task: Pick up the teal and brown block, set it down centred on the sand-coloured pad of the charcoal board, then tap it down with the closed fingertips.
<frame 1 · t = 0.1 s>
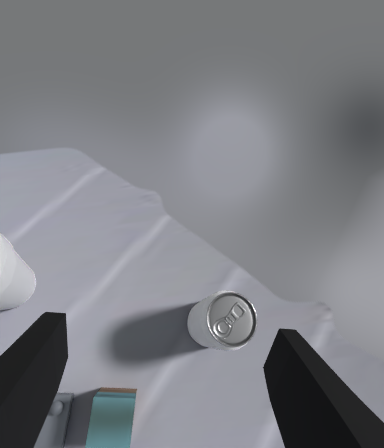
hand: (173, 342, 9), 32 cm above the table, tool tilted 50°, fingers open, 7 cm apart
grey cylinder: (208, 323, 41), on the table
teal and brown block: (116, 408, 35), on the table
foam cup: (11, 286, 38), on the table
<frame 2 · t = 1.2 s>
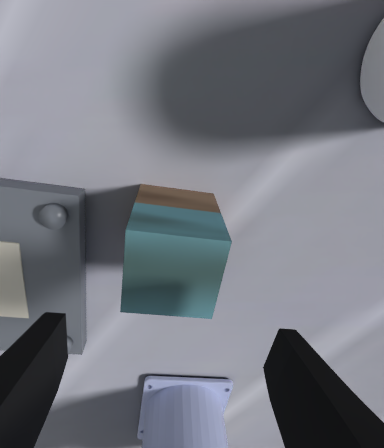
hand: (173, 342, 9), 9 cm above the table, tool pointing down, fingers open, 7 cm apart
teal and brown block: (173, 221, 18), on the table
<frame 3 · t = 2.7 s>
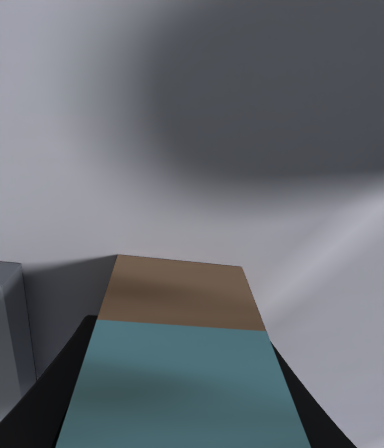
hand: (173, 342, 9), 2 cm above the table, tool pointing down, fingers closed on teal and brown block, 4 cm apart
teal and brown block: (173, 308, 11), on the table, touching gripper
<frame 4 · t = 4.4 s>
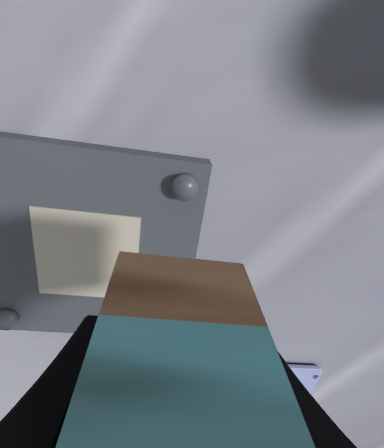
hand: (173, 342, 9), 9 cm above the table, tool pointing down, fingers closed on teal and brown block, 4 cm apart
plate: (92, 246, 18), on the table
teal and brown block: (174, 305, 11), point 7 cm above the table, touching gripper
when the fingers open (4 cm above the table, at t = 6.1 s): teal and brown block drops 1 cm, resting on plate.
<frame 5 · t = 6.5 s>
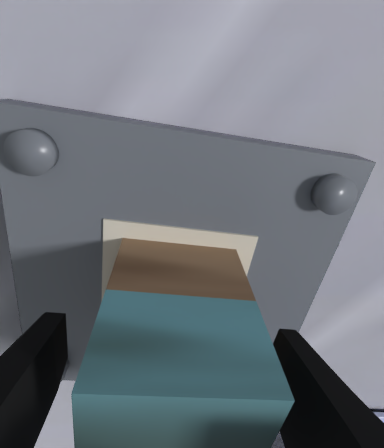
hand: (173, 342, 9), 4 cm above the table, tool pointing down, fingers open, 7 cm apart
plate: (173, 271, 13), on the table
teal and brown block: (173, 288, 12), point 1 cm above the table, touching plate
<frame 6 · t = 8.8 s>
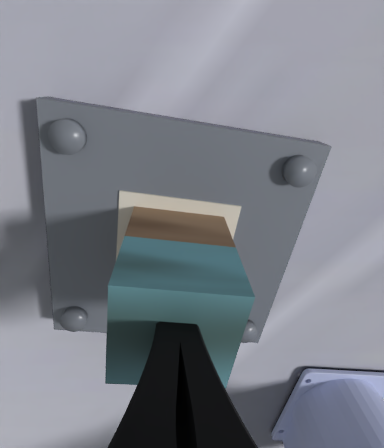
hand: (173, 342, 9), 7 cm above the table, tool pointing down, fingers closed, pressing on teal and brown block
plate: (174, 239, 16), on the table
teal and brown block: (174, 249, 15), point 1 cm above the table, touching gripper, plate
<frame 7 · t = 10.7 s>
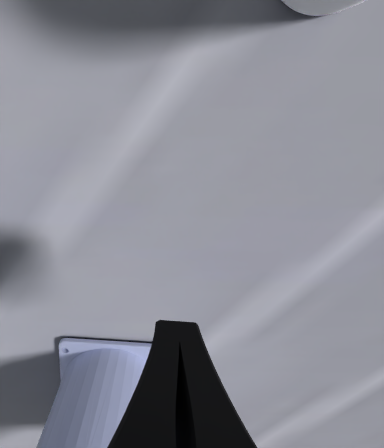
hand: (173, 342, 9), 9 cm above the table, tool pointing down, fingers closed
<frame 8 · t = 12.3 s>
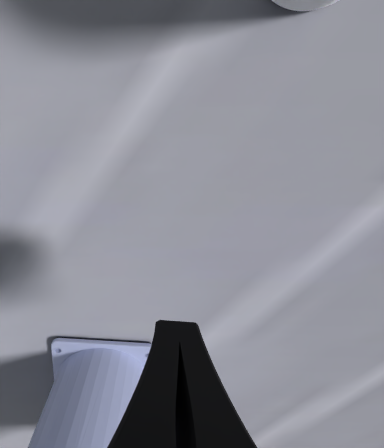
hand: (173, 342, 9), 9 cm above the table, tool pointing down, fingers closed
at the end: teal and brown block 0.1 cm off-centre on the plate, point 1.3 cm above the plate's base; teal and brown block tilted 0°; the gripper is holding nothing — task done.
